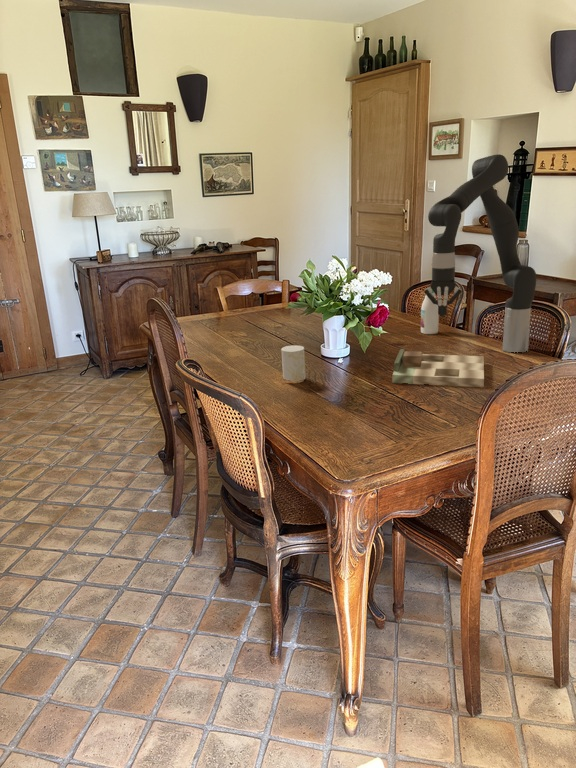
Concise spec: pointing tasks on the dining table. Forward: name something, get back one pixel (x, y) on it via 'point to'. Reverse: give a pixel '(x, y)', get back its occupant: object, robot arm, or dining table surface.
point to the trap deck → (441, 370)
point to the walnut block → (412, 359)
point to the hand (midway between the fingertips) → (442, 315)
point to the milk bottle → (429, 316)
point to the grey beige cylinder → (293, 363)
